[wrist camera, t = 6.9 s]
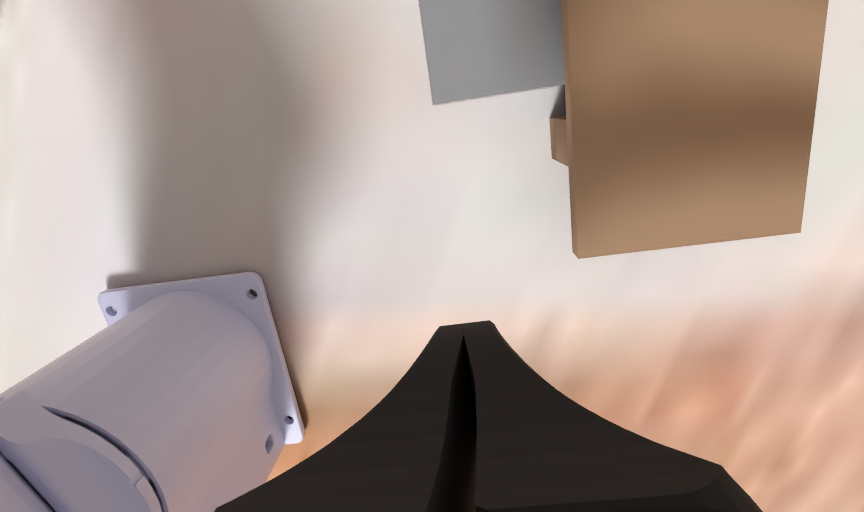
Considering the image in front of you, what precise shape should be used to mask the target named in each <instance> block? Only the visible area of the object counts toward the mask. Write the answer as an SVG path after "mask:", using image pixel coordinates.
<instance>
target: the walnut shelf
mask: <svg viewBox="0 0 864 512" xmlns="http://www.w3.org/2000/svg"><path fill="white" fill-rule="evenodd" d="M827 9H828V0H561V15H562V37H563V58H564V79H565V100H566V116H561V117H555V118H550V133H551V150H552V159H554V160H556V161H558V162H561V163H563V164H565V165H567V166H569V185H570V206H571V228H572V249H573V253H574V254H575V255H576V256H577V258H578V259H580V258H588V257H597V256H605V255H614V254H622V253H631V252H639V251H648V250H656V249H665V248H673V247H682V246H690V245H699V244H707V243H716V242H724V241H733V240H741V239H749V238H758V237H766V236H775V235H783V234H792V233H800V232H801V225H802V217H803V208H804V200H805V192H806V183H807V175H808V167H809V158H810V150H811V142H812V133H813V125H814V117H815V109H816V100H817V92H818V84H819V75H820V67H821V59H822V50H823V42H824V34H825V25H826V17H827Z"/></svg>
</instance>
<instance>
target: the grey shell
mask: <svg viewBox="0 0 864 512" xmlns="http://www.w3.org/2000/svg"><path fill="white" fill-rule="evenodd" d="M419 7H420V14H421V21H422V29H423V36H424V43H425V50H426V58H427V65H428V72H429V79H430V87H431V94H432V101H433V105H439V104H446V103H452V102H459V101H465V100H471V99H478V98H484V97H491V96H497V95H504V94H510V93H516V92H523V91H529V90H536V89H542V88H549V87H555V86H561V85H565V79H564V58H563V37H562V15H561V0H419Z"/></svg>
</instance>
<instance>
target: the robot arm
mask: <svg viewBox="0 0 864 512" xmlns="http://www.w3.org/2000/svg"><path fill="white" fill-rule="evenodd" d="M250 289H252V290H255V291H256V293H257V296H253V295H252V294H251V293H250ZM98 302H99V305H100V307H101V309H102V312H103V314H104V317H105V319H106V321H107V324H108V327H107V328H105V329H104V330H102V331H100V332H99V333H97V334H96V335H94V336H92V337H91V338H89V339H88V340H86V341H84V342H83V343H81V344H80V345H78V346H76V347H75V348H73V349H72V350H70V351H68V352H67V353H65V354H64V355H62V356H60V357H59V358H57V359H56V360H54V361H53V362H51V363H49V364H48V365H46V366H45V367H43V368H41V369H40V370H38V371H37V372H35V373H33V374H32V375H30V376H29V377H27V378H25V379H24V380H22V381H21V382H19V383H17V384H16V385H14V386H13V387H11V388H9V389H8V390H6V391H5V392H3V393H1V394H0V512H763V511H762V510H761V509H760V508H759V507H758V506H757V504H756V503H755V502H754V501H753V500H752V499H751V497H750V496H749V495H748V494H747V493H746V492H745V491H744V490H743V489H742V488H741V487H740V486H739V485H738V484H737V483H736V482H735V481H734V480H733V478H732V477H731V476H730V475H729V474H728V473H727V472H726V471H725V469H724V468H723V467H722V466H721V465H719V464H716V463H713V462H710V461H707V460H704V459H701V458H698V457H696V456H693V455H690V454H687V453H684V452H681V451H678V450H676V449H673V448H670V447H667V446H664V445H661V444H659V443H656V442H654V441H651V440H649V439H647V438H644V437H642V436H640V435H638V434H635V433H633V432H631V431H628V430H626V429H624V428H622V427H620V426H618V425H616V424H614V423H612V422H610V421H608V420H606V419H604V418H602V417H600V416H598V415H597V414H595V413H593V412H591V411H589V410H588V409H586V408H584V407H582V406H581V405H579V404H577V403H576V402H574V401H573V400H571V399H569V398H568V397H566V396H565V395H564V394H562V393H561V392H559V391H558V390H557V389H555V388H554V387H553V386H551V385H550V384H549V383H548V382H546V381H545V380H544V379H543V378H542V377H541V376H539V375H538V374H537V373H536V372H535V371H534V370H533V369H532V368H531V367H530V366H528V365H527V364H526V363H525V362H524V361H523V360H522V359H521V357H520V356H519V355H518V354H517V353H516V352H515V351H514V350H513V349H512V348H511V347H510V346H509V344H508V343H507V342H506V341H505V339H504V338H503V337H502V336H501V334H500V333H499V331H498V330H497V328H496V327H495V324H493V323H492V322H491V321H490V320H489V321H480V322H472V323H464V324H455V325H447V326H440V327H439V328H438V329H437V330H436V332H435V333H434V335H433V336H432V338H431V339H430V341H429V342H428V344H427V345H426V347H425V348H424V350H423V351H422V353H421V354H420V355H419V357H418V358H417V359H416V361H415V362H414V363H413V365H412V366H411V368H410V369H409V370H408V371H407V373H406V374H405V375H404V376H403V377H402V379H401V380H400V381H399V382H398V383H397V384H396V386H395V387H394V388H393V389H392V390H391V391H390V392H389V393H388V394H387V395H386V396H385V397H384V398H383V399H382V400H381V401H380V402H379V403H378V404H377V405H376V406H375V407H374V408H373V409H372V410H371V411H370V412H369V413H367V414H366V415H365V416H364V417H363V418H362V419H361V420H359V421H358V422H357V423H355V424H354V425H353V426H351V427H350V428H349V429H348V430H346V431H345V432H344V433H342V434H341V435H340V436H339V437H337V438H336V439H335V440H333V441H332V442H331V443H329V444H328V445H326V446H325V447H324V448H322V449H321V450H319V451H318V452H316V453H315V454H313V455H312V456H310V457H309V458H307V459H305V460H304V461H302V462H300V463H299V464H297V465H296V466H294V467H292V468H291V469H289V470H287V471H286V472H284V473H282V474H281V475H279V476H277V477H275V478H274V479H272V480H270V481H268V482H266V480H267V478H268V477H269V475H270V473H271V471H272V469H273V467H274V465H275V463H276V461H277V459H278V457H279V455H280V453H281V451H282V449H283V447H284V445H285V444H295V443H299V442H301V441H302V439H303V437H304V435H305V429H304V426H303V422H302V419H301V415H300V411H299V408H298V404H297V401H296V397H295V394H294V390H293V387H292V383H291V380H290V376H289V373H288V369H287V366H286V362H285V358H284V355H283V351H282V348H281V344H280V341H279V337H278V334H277V330H276V327H275V323H274V320H273V316H272V313H271V309H270V306H269V302H268V298H267V295H266V291H265V288H264V284H263V281H262V279H261V277H260V276H259V275H258V274H257V273H255V272H243V273H235V274H227V275H219V276H210V277H202V278H194V279H186V280H178V281H170V282H162V283H154V284H146V285H138V286H129V287H121V288H113V289H108V290H105V291H103V292H101V293H100V294H99V296H98ZM112 307H114V308H115V309H116V310H117V312H116V311H114V310H113V308H112ZM287 416H291V417H292V418H293V419H289V418H288V417H287ZM265 482H266V483H265Z"/></svg>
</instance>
